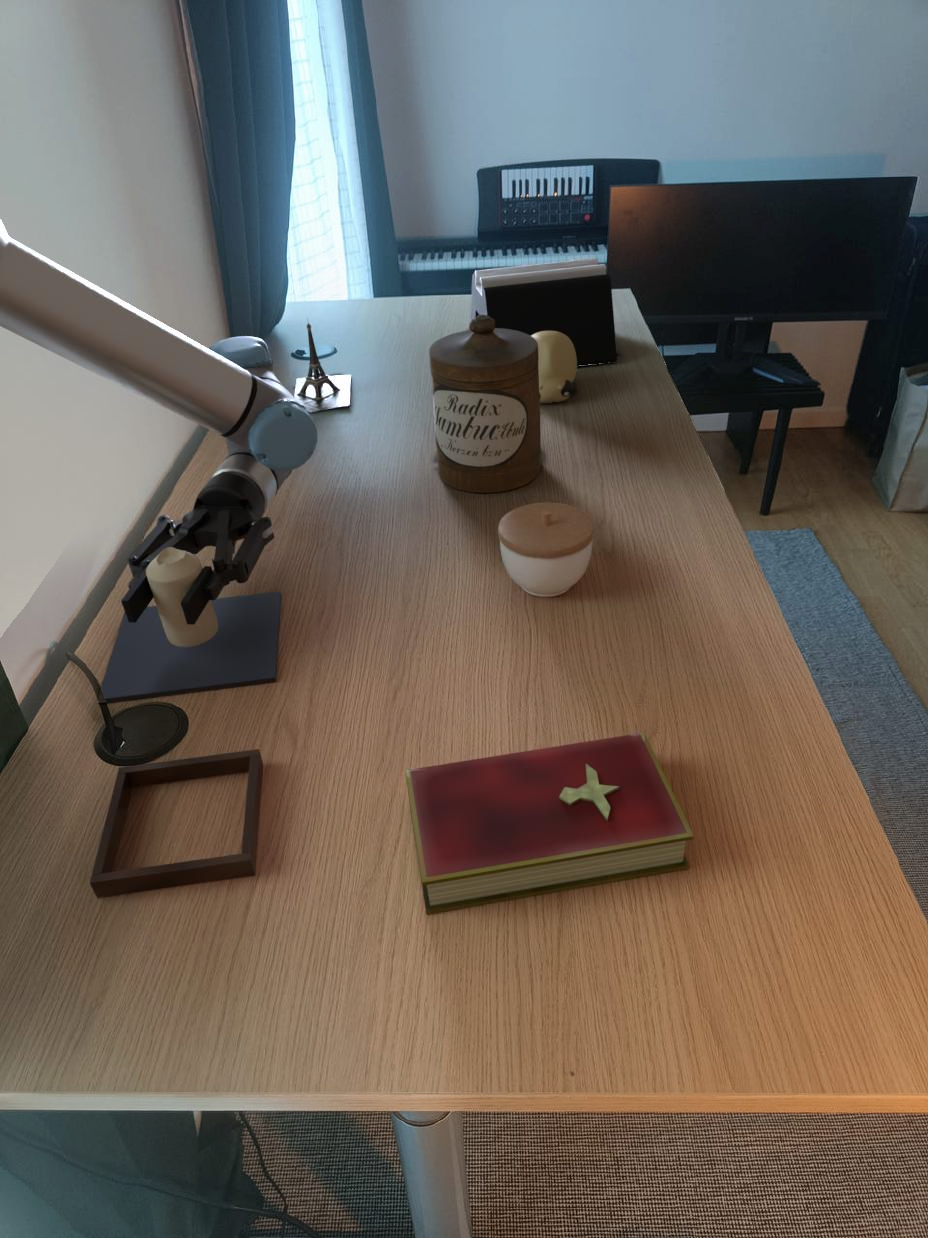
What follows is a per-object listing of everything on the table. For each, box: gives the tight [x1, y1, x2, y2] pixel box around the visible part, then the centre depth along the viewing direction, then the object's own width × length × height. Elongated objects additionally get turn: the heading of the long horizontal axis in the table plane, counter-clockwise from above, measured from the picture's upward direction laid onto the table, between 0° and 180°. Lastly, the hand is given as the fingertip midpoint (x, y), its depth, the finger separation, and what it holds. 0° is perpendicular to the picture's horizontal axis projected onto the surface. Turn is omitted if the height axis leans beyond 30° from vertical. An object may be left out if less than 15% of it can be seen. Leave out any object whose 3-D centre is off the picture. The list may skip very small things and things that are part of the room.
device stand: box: [470, 257, 618, 366], centre depth 159 cm, size 22×22×15 cm
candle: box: [146, 547, 218, 647], centre depth 92 cm, size 6×6×10 cm
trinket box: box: [497, 501, 595, 598], centre depth 99 cm, size 11×11×9 cm
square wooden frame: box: [89, 748, 264, 899], centre depth 75 cm, size 13×13×2 cm
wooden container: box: [428, 315, 542, 494], centre depth 119 cm, size 15×15×22 cm
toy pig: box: [531, 331, 578, 404], centre depth 144 cm, size 10×12×11 cm
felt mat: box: [100, 590, 282, 704], centre depth 96 cm, size 18×16×1 cm
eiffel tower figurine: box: [293, 317, 352, 413], centre depth 148 cm, size 15×10×13 cm
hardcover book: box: [404, 732, 695, 915], centre depth 71 cm, size 12×21×4 cm, turn 99°
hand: (158, 612), depth 87 cm, fingers closed on candle, 5 cm apart
